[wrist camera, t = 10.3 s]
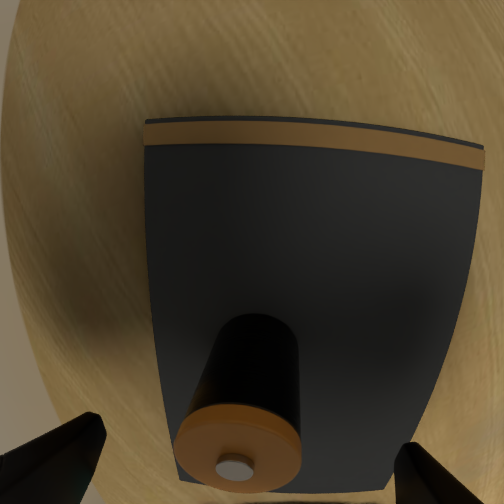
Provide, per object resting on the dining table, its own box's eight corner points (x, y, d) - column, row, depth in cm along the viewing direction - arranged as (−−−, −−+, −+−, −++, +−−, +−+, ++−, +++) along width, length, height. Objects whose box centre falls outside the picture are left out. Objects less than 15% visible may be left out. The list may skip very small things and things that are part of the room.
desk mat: (181, 475, 17) (179, 481, 16) (149, 120, 11) (143, 119, 11) (382, 485, 15) (383, 490, 15) (479, 145, 10) (485, 145, 10)
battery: (215, 378, 13) (177, 491, 8) (214, 308, 13) (160, 419, 7) (294, 384, 13) (293, 505, 7) (303, 315, 12) (311, 436, 6)
